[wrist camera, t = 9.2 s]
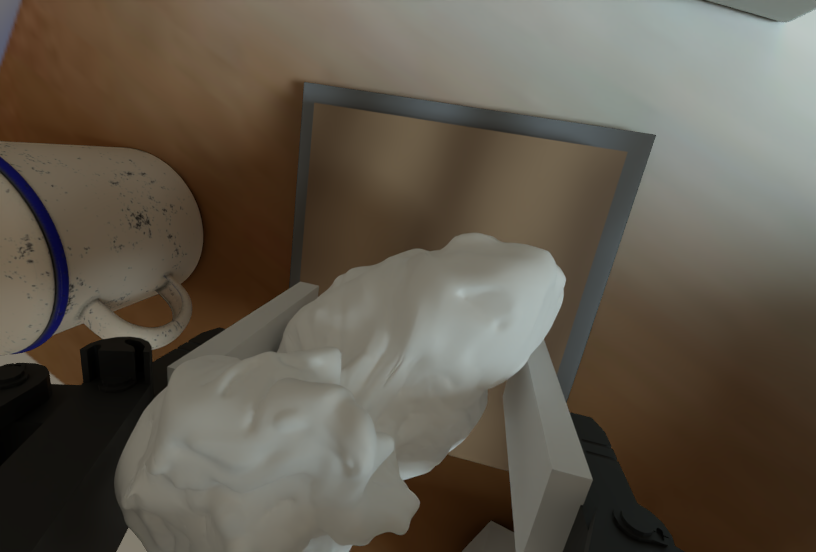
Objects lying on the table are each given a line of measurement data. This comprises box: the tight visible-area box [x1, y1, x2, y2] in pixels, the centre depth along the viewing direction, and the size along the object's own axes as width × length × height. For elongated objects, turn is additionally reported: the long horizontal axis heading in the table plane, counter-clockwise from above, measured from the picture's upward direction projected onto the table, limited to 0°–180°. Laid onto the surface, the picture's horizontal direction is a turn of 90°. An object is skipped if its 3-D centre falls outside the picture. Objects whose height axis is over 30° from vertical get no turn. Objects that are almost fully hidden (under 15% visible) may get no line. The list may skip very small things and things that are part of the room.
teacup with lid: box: [0, 141, 203, 355], centre depth 18 cm, size 12×9×12 cm
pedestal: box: [289, 82, 656, 471], centre depth 20 cm, size 16×18×3 cm
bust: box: [114, 233, 566, 552], centre depth 11 cm, size 12×8×11 cm
